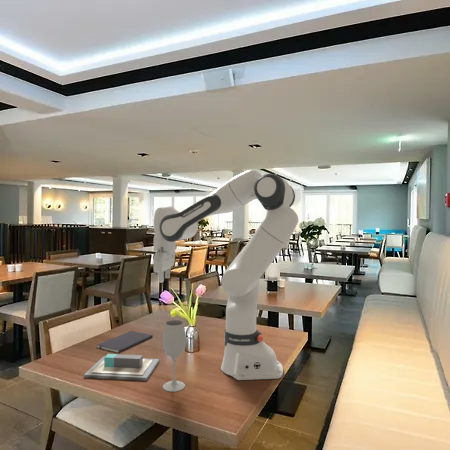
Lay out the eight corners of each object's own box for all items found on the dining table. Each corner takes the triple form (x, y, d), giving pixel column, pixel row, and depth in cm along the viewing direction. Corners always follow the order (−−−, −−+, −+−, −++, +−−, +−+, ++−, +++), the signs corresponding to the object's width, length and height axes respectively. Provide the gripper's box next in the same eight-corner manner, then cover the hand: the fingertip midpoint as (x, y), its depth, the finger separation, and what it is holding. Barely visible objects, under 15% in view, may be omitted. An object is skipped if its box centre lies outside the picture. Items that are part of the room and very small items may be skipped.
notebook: (118, 354, 148) (152, 338, 167) (118, 350, 148) (152, 335, 166) (95, 348, 154) (131, 333, 172) (95, 344, 154) (131, 330, 172)
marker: (142, 364, 134) (142, 355, 133) (139, 368, 130) (139, 358, 130) (108, 362, 135) (108, 353, 135) (104, 366, 131) (104, 357, 131)
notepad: (159, 361, 139) (159, 358, 139) (146, 380, 124) (146, 376, 124) (103, 359, 141) (103, 355, 141) (83, 377, 125) (83, 373, 125)
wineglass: (157, 386, 120) (157, 322, 119) (176, 379, 125) (176, 318, 124) (171, 394, 114) (171, 327, 114) (190, 386, 120) (190, 323, 119)
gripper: (165, 249, 138) (165, 285, 139) (177, 244, 159) (177, 276, 159) (149, 248, 139) (149, 284, 139) (163, 244, 159) (163, 275, 160)
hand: (164, 280), depth 150 cm, fingers open, 8 cm apart
